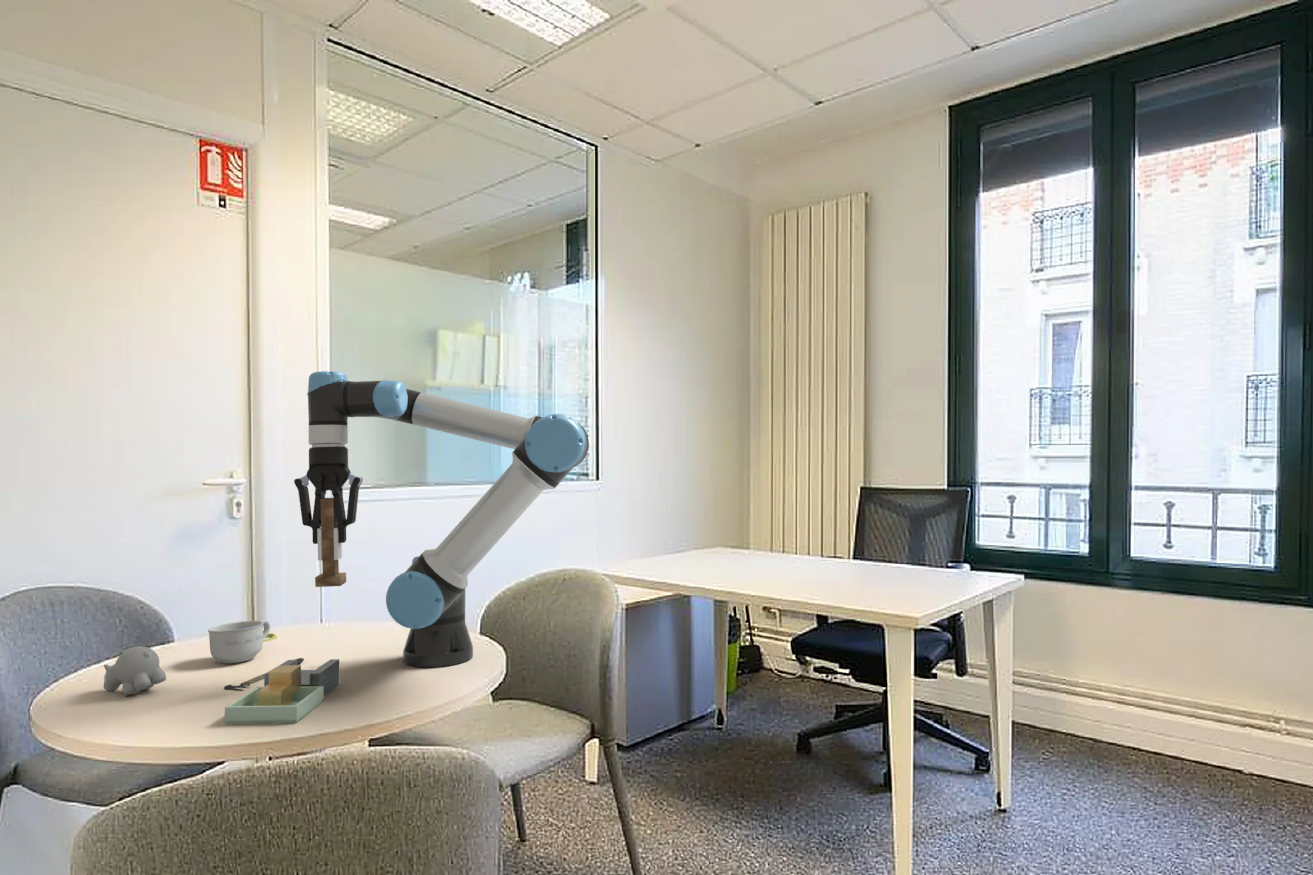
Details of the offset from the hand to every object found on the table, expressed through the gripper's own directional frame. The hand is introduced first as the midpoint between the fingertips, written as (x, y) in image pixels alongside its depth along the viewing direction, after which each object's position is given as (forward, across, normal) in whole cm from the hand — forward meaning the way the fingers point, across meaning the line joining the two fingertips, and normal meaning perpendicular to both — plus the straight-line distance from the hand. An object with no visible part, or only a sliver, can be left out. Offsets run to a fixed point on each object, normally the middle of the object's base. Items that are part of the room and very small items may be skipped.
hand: (329, 559), depth 158 cm
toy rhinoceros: (+24, +35, +6) cm, 43 cm away
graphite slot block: (+24, +2, +11) cm, 27 cm away
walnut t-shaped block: (+5, 0, -1) cm, 5 cm away
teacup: (+24, +24, -17) cm, 38 cm away
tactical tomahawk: (+25, +12, -2) cm, 27 cm away
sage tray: (+24, +3, +22) cm, 33 cm away
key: (+24, +30, -37) cm, 53 cm away
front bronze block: (+22, +3, +21) cm, 30 cm away
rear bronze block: (+21, +2, +19) cm, 28 cm away
